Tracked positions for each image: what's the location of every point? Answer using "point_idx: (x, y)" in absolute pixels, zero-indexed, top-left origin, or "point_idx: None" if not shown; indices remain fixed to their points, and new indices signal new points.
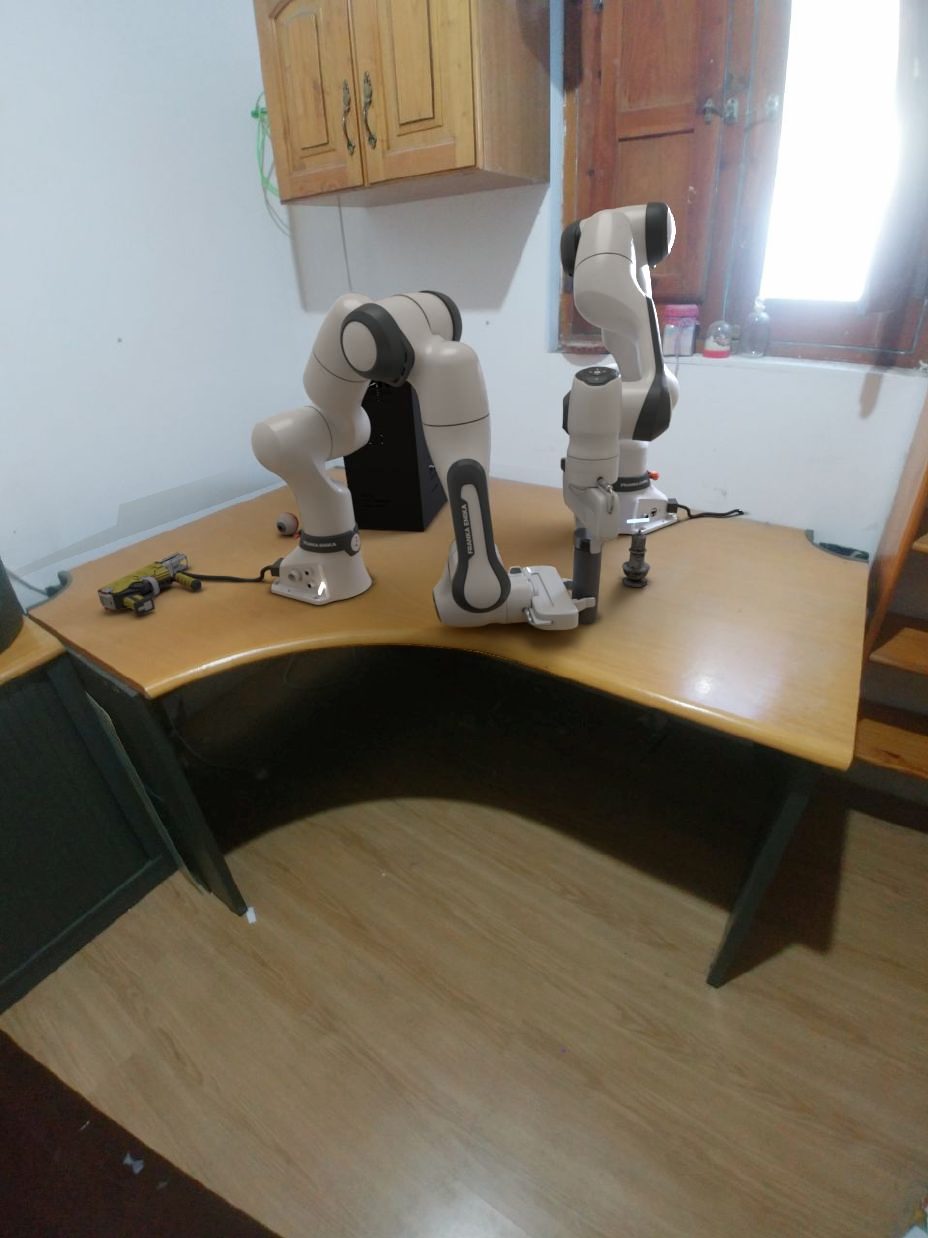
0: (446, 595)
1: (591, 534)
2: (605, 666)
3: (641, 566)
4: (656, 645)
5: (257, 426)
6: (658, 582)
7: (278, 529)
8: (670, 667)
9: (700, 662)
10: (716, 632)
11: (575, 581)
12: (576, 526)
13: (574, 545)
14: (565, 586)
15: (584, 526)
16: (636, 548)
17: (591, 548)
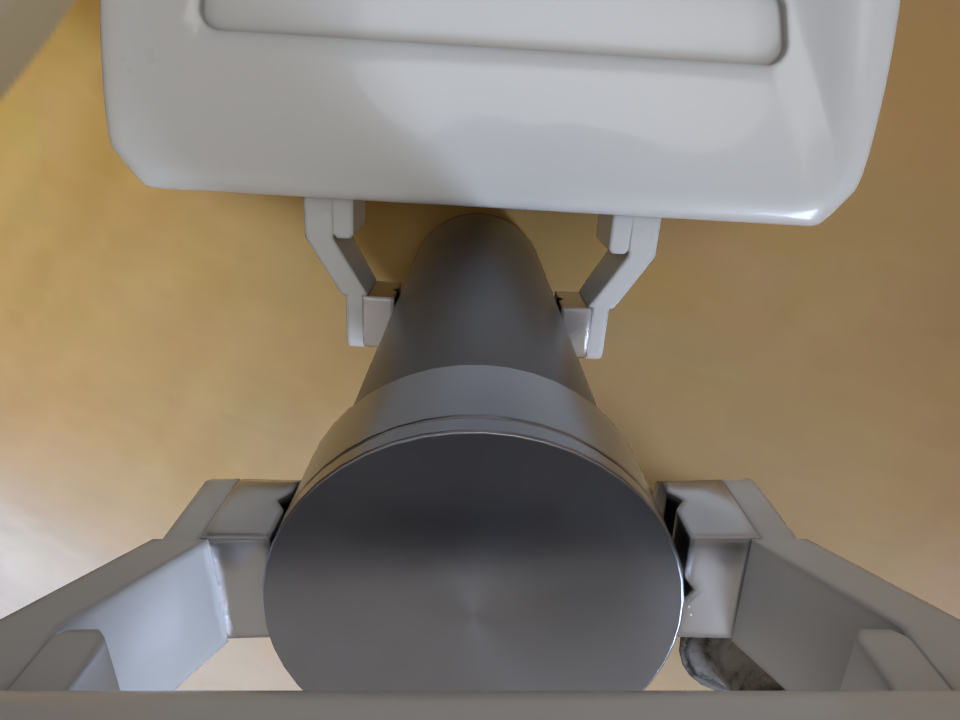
0: None
1: (48, 650)
2: (37, 233)
3: (712, 664)
4: (196, 478)
5: None
6: (678, 656)
7: None
8: (39, 467)
9: (75, 565)
10: (267, 678)
11: (439, 274)
12: (785, 548)
13: (437, 370)
14: (601, 234)
15: (747, 630)
16: None
17: (188, 510)
